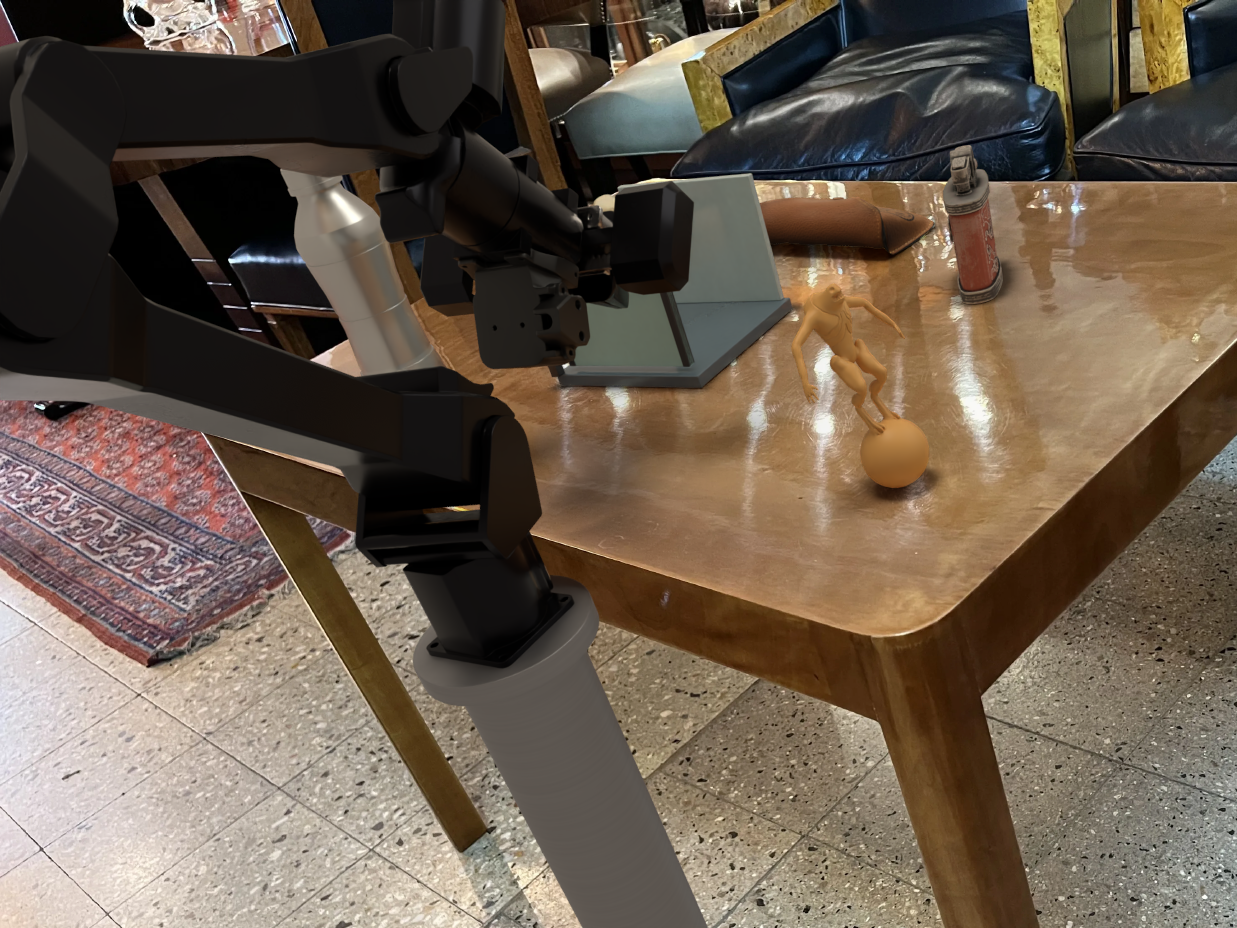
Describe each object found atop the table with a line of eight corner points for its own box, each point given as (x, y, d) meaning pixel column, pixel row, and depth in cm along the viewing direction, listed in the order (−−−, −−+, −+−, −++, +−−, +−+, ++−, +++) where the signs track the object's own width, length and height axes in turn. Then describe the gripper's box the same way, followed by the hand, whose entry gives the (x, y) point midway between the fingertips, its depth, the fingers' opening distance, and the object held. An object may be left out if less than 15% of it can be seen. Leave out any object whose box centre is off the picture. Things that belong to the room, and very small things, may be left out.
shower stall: (697, 391, 87) (651, 245, 81) (556, 388, 94) (503, 253, 88) (793, 308, 97) (758, 171, 90) (658, 311, 104) (617, 184, 97)
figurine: (883, 525, 66) (835, 321, 59) (805, 506, 69) (751, 313, 63) (969, 453, 70) (933, 256, 63) (891, 439, 74) (849, 252, 67)
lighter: (962, 268, 95) (940, 140, 90) (1004, 260, 95) (985, 131, 89) (956, 306, 89) (932, 172, 83) (1001, 299, 88) (980, 162, 83)
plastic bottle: (365, 433, 95) (239, 182, 84) (417, 394, 100) (305, 152, 89) (426, 432, 93) (303, 172, 81) (476, 391, 97) (368, 141, 86)
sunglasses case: (941, 217, 105) (907, 164, 100) (911, 283, 104) (874, 234, 99) (790, 216, 116) (752, 169, 111) (761, 276, 115) (721, 231, 109)
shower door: (689, 367, 88) (648, 239, 82) (569, 366, 93) (524, 247, 88) (695, 362, 88) (655, 235, 83) (576, 361, 94) (531, 243, 88)
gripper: (339, 346, 71) (504, 422, 85) (606, 319, 64) (737, 406, 78) (357, 169, 72) (517, 273, 86) (622, 123, 65) (747, 244, 79)
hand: (624, 301), depth 83 cm, fingers closed
